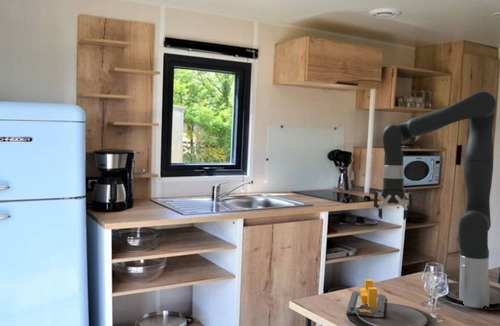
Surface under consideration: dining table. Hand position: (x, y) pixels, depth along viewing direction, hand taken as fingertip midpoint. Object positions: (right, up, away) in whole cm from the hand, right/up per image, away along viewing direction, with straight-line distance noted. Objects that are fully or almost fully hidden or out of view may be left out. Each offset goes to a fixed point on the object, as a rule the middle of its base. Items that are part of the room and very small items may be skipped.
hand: (392, 219), depth 180 cm
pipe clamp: (-13, -28, -16) cm, 34 cm away
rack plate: (-14, -29, -16) cm, 35 cm away
